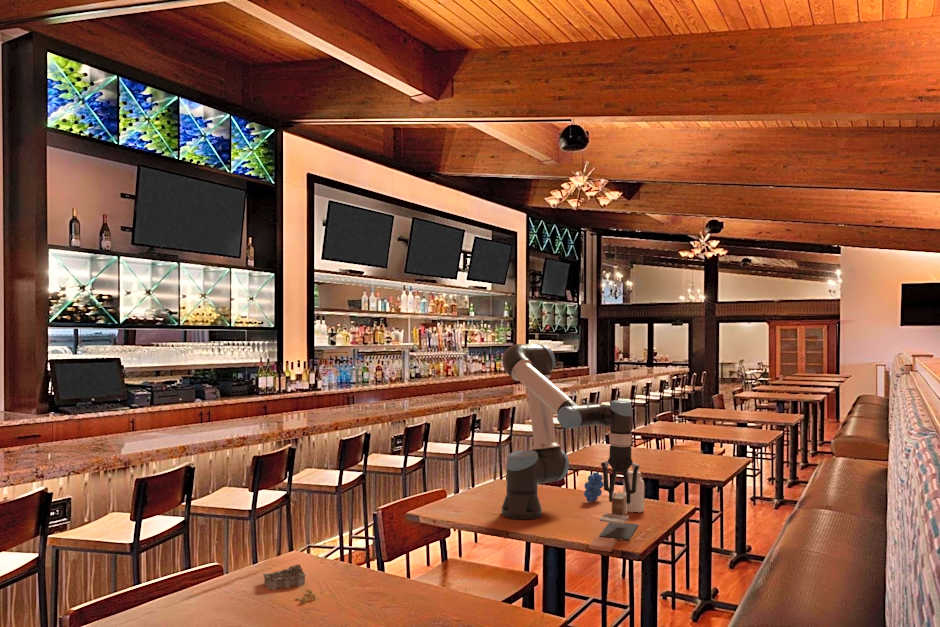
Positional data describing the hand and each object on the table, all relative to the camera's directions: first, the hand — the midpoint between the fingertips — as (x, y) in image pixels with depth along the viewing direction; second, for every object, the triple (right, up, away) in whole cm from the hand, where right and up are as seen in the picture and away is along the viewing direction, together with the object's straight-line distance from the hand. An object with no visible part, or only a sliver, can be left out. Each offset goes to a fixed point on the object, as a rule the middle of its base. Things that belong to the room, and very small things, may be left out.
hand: (619, 511), depth 262 cm
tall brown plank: (-1, 0, -3) cm, 3 cm away
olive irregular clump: (-95, -5, -69) cm, 117 cm away
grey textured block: (-103, -5, -58) cm, 118 cm away
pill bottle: (+11, -7, +28) cm, 31 cm away
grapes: (-3, -7, +42) cm, 43 cm away
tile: (-7, -6, -14) cm, 17 cm away
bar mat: (-1, -6, -2) cm, 7 cm away
